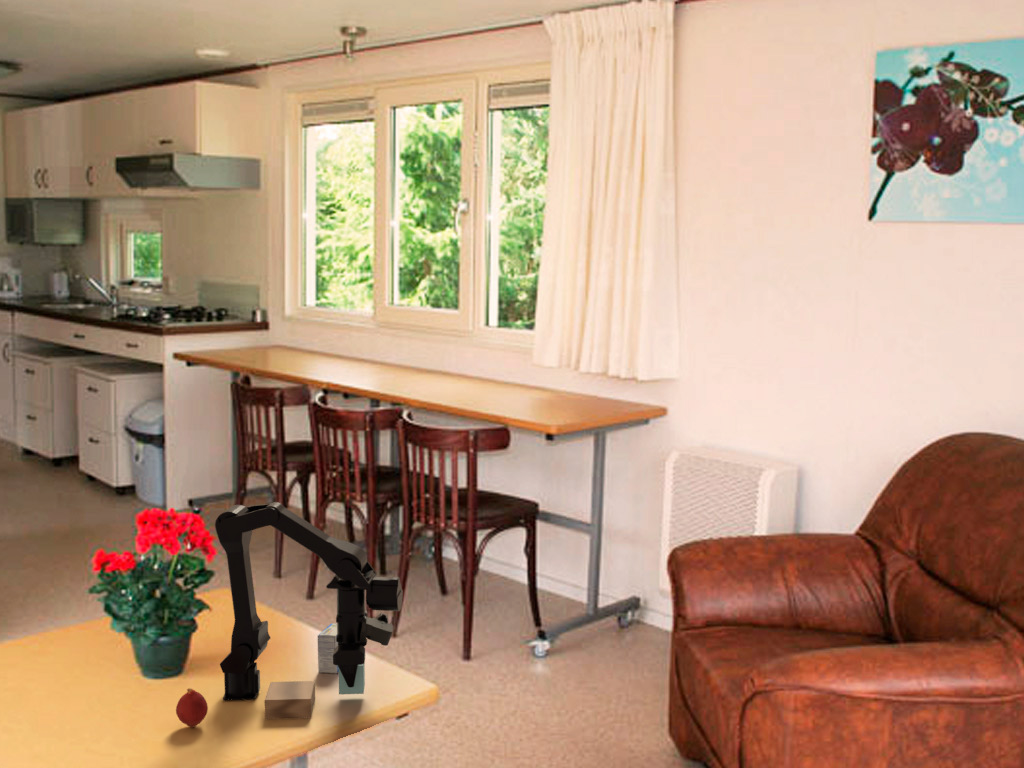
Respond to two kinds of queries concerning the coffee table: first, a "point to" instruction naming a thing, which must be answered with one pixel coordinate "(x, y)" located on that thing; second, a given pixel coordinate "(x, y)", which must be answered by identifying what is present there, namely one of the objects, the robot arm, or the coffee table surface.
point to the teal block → (358, 683)
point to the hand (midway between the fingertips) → (351, 681)
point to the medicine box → (327, 649)
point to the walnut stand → (290, 700)
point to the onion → (191, 708)
